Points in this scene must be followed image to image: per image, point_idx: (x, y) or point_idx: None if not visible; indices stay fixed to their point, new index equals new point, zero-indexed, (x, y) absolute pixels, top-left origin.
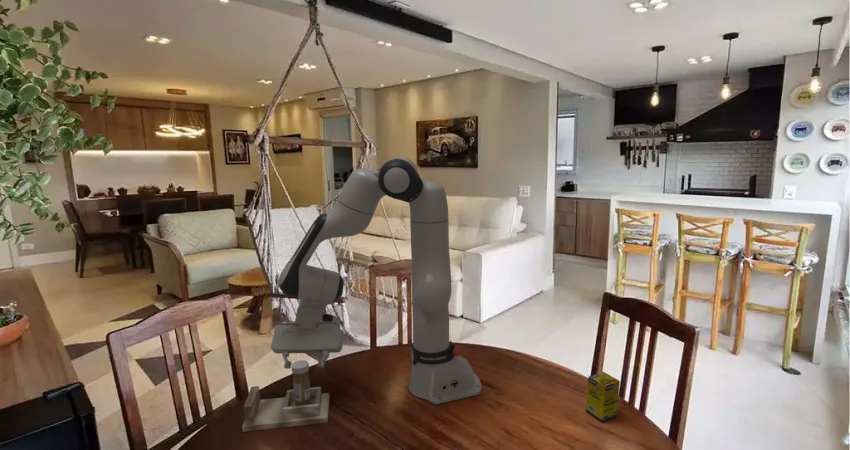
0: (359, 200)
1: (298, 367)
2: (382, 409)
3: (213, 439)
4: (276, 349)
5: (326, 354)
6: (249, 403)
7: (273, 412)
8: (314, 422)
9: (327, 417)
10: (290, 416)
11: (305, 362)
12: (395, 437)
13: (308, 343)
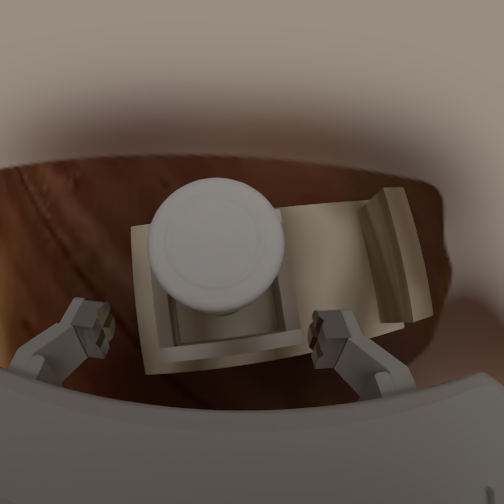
0: None
1: (215, 182)
2: (12, 284)
3: (415, 187)
4: (466, 377)
5: (25, 347)
6: (397, 205)
7: (318, 261)
8: None
9: (131, 231)
10: None
11: (170, 256)
12: (9, 180)
13: (154, 465)
